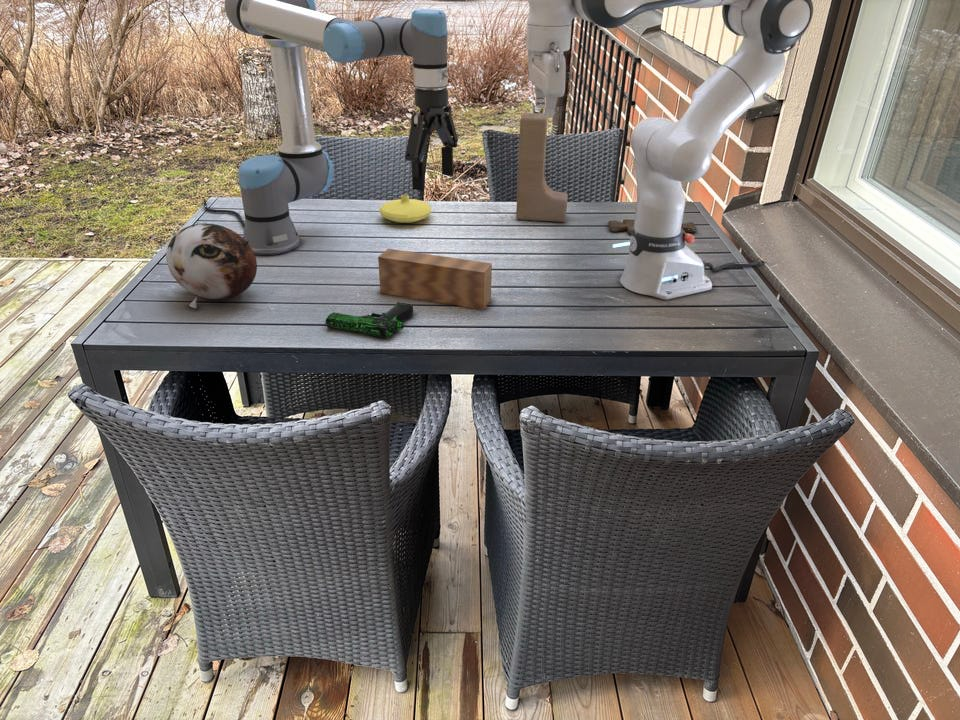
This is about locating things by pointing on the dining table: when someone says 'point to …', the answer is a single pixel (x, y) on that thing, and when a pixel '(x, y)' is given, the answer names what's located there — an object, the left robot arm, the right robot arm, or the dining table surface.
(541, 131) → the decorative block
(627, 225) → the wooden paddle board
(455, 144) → the left robot arm
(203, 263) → the cat face balloon
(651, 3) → the right robot arm
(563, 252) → the dining table surface
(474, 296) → the bar
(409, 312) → the handgun
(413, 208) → the yellow pattypan squash
